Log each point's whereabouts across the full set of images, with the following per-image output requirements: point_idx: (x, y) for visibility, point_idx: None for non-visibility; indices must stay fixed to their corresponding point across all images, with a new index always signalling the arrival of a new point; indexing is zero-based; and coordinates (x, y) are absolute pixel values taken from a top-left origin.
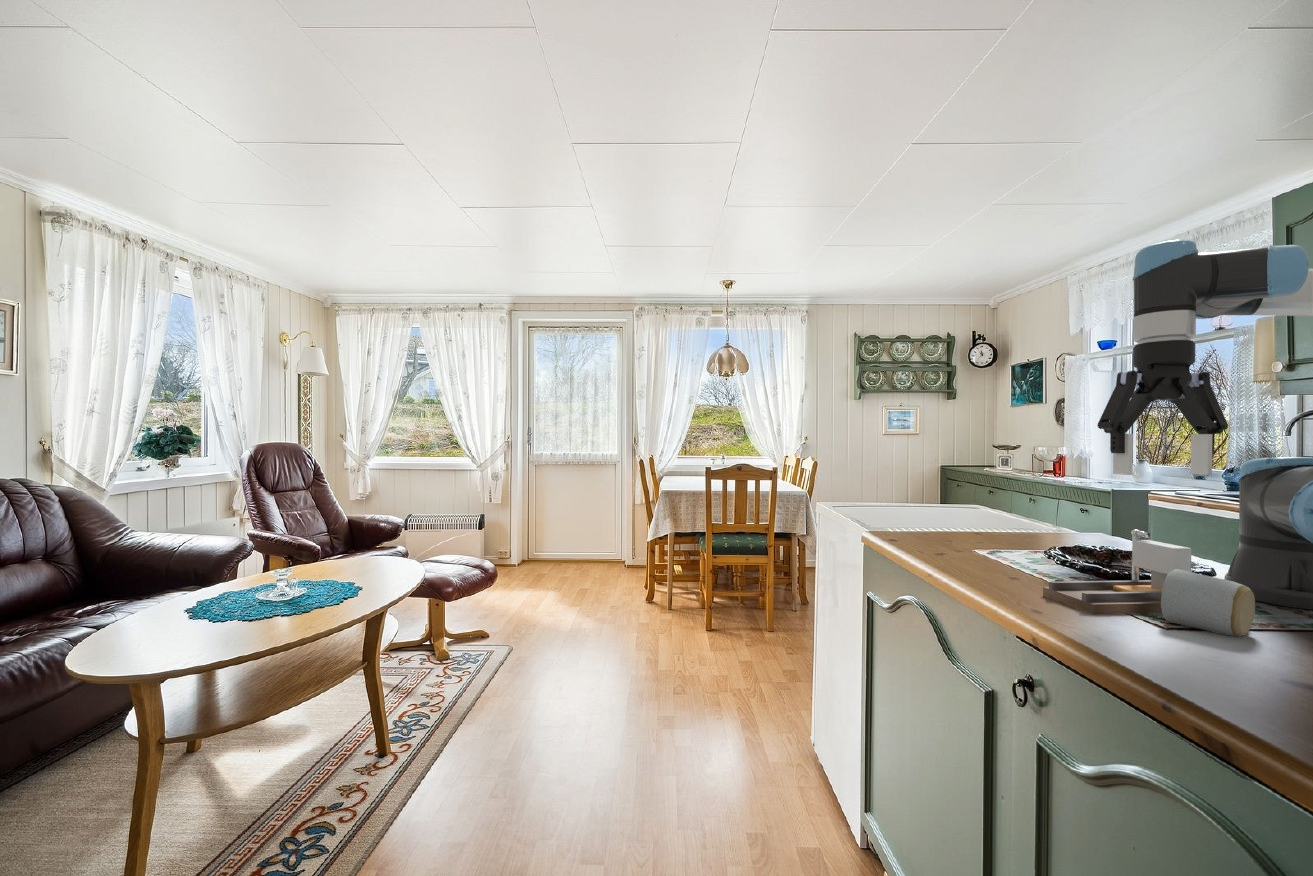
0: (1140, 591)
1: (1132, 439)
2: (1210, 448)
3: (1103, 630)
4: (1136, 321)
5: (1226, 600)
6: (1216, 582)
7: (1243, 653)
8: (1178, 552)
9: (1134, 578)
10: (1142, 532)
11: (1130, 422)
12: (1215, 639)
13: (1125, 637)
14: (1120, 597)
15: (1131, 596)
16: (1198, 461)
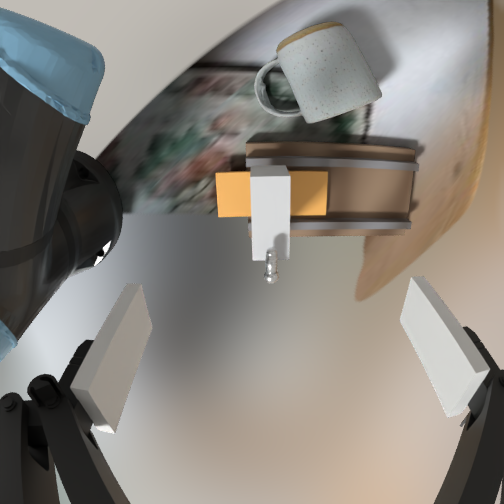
0: (314, 181)
1: (467, 354)
2: (98, 344)
3: (443, 96)
4: None
5: (348, 31)
6: (345, 47)
7: (360, 6)
8: (278, 174)
9: None
10: (275, 261)
11: (498, 411)
12: None
13: (439, 72)
14: (369, 159)
15: (353, 158)
16: (134, 336)
